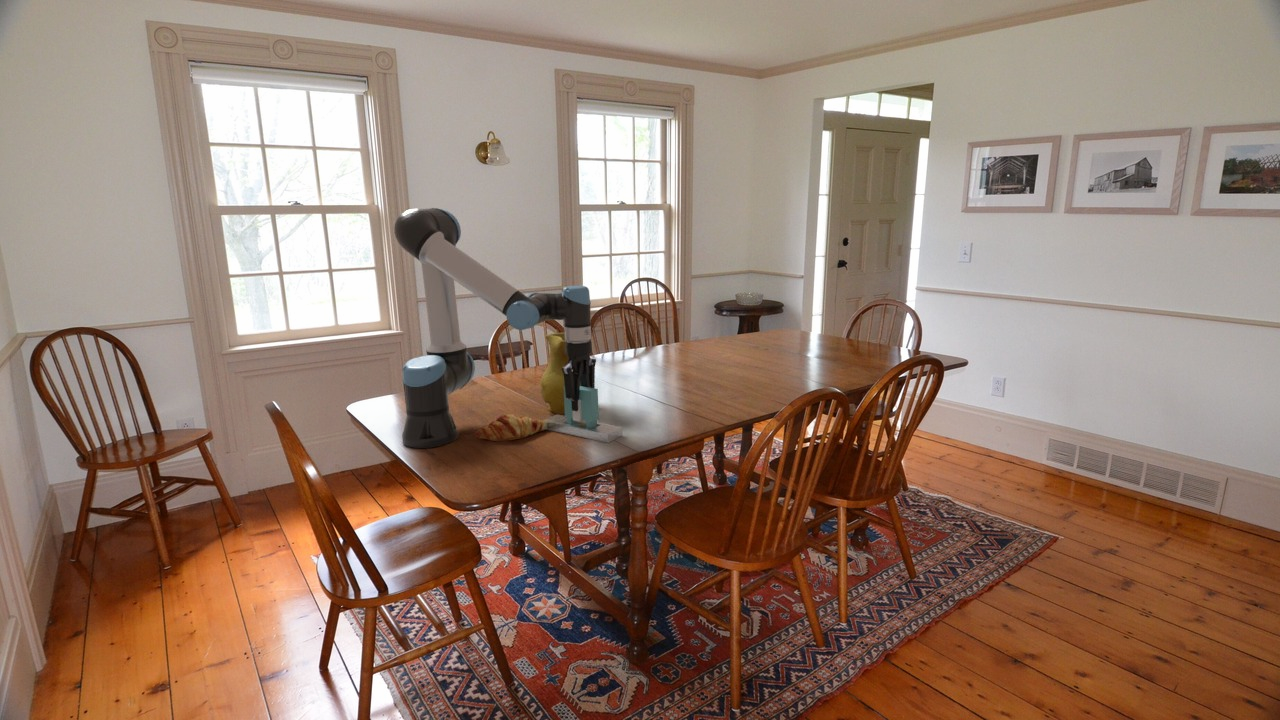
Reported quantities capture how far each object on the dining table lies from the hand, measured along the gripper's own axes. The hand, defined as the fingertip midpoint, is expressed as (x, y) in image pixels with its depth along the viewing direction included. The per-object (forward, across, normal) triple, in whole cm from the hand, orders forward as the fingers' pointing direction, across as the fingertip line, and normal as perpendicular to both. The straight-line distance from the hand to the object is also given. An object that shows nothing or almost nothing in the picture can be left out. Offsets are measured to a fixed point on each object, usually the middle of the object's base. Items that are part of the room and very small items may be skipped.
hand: (581, 418), depth 190 cm
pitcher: (+4, +17, +18) cm, 25 cm away
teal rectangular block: (+2, 0, 0) cm, 2 cm away
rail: (+4, 0, 0) cm, 4 cm away
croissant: (+4, -13, +16) cm, 21 cm away
